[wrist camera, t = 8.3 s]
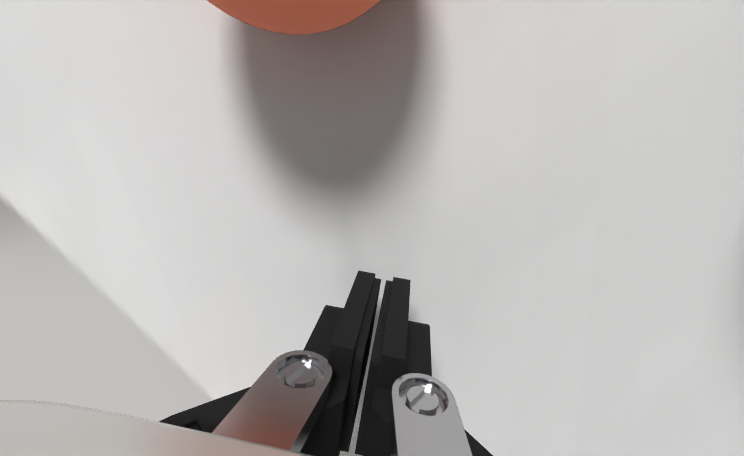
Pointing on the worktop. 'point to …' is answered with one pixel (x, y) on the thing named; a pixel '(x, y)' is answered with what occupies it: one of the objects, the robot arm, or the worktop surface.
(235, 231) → the worktop surface
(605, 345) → the worktop surface
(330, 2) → the ball
